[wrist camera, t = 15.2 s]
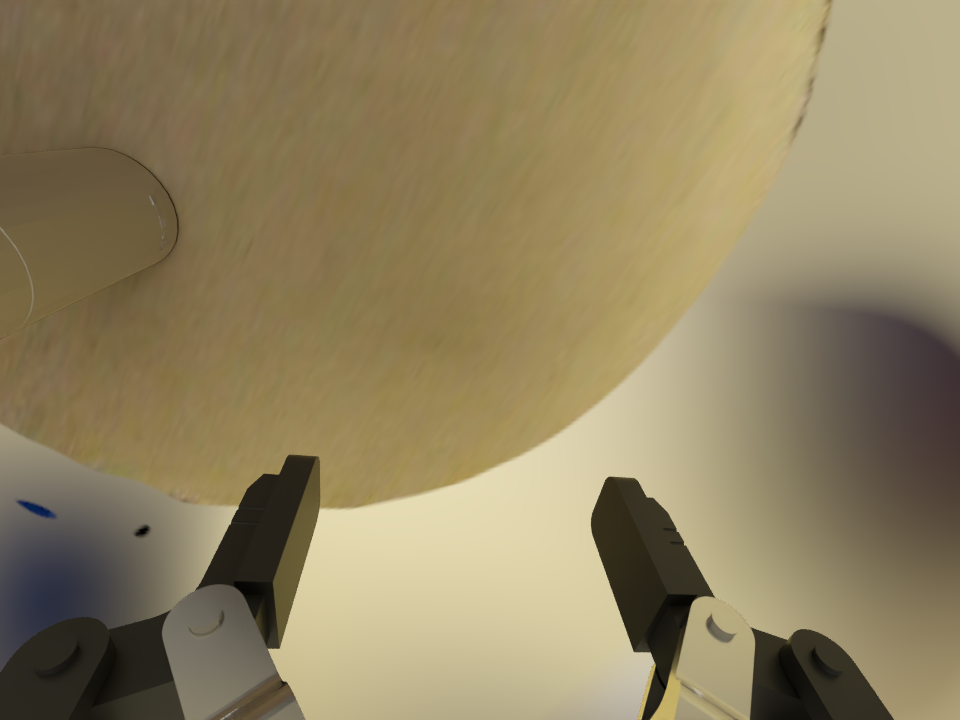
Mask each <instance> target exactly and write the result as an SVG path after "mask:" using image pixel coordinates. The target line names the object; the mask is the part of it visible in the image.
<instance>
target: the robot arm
mask: <svg viewBox="0 0 960 720" xmlns="http://www.w3.org/2000/svg"><path fill="white" fill-rule="evenodd" d="M177 232H178V229H177V218H176V214H175V210H174V207H173V205H172V202H171V200H170V198H169V196H168V194H167V193H166V191H165V190H164V188H163V187H162V186H161V184H160V183H159V182H158V180H157V179H156V178H155V177H154V176H153V175H152V174H151V173H150V172H149V171H148V170H146V169H145V168H144V167H143V166H141V165H140V164H139V163H137V162H136V161H134V160H132V159H131V158H129V157H127V156H125V155H123V154H121V153H118V152H115V151H112V150H109V149H104V148H97V147H91V148H78V149H67V150H55V151H42V152H31V153H20V154H10V155H0V339H2V338H4V337H6V336H8V335H10V334H12V333H14V332H15V331H17V330H20V329H22V328H24V327H26V326H28V325H30V324H32V323H34V322H36V321H38V320H40V319H42V318H44V317H46V316H48V315H50V314H52V313H54V312H56V311H59V310H61V309H63V308H65V307H67V306H69V305H71V304H73V303H75V302H77V301H79V300H81V299H83V298H85V297H87V296H89V295H91V294H93V293H95V292H98V291H100V290H102V289H104V288H106V287H108V286H110V285H112V284H114V283H116V282H118V281H120V280H122V279H124V278H127V277H129V276H131V275H133V274H135V273H137V272H139V271H141V270H143V269H145V268H147V267H149V266H151V265H153V264H155V263H157V262H159V261H160V260H162V259H164V258H165V257H166V256H167V255H168V254H169V253H170V252H171V250H172V248H173V246H174V244H175V242H176V237H177ZM319 507H320V461H319V457H317V456H301V455H288V457H287V458H286V460H285V463H284V465H283V467H282V470H281V472H280V474H279V475H274V474H263V475H262V476H261V477H260V478H259V479H258V480H256V481H255V482H254V483H253V484H252V485H251V486H250V487H249V488H248V489H247V491H246V493H245V495H244V497H243V499H242V501H241V503H240V505H239V509H238V510H237V511H236V513H235V515H234V517H233V519H232V522H231V525H229V527H228V529H227V531H226V533H225V535H224V537H223V539H222V541H221V543H220V545H219V547H218V549H217V551H216V553H215V555H214V557H213V559H212V561H211V563H210V565H209V567H208V569H207V571H206V573H205V575H204V577H203V579H202V581H201V583H200V584H199V586H198V587H197V588H196V590H195V591H194V592H192V593H190V594H188V595H187V596H185V597H184V598H183V599H182V600H181V601H179V602H178V603H177V604H176V605H175V606H174V607H173V609H172V610H170V611H168V612H166V613H164V614H161V615H159V616H156V617H154V618H151V619H147V620H143V621H139V622H135V623H132V624H128V625H125V626H120V627H117V628H113V629H109V630H108V629H107V627H106V626H105V625H104V624H103V623H102V622H101V621H99V620H97V619H94V618H89V617H80V618H73V619H68V620H65V621H62V622H59V623H56V624H54V625H52V626H50V627H48V628H46V629H44V630H42V631H41V632H39V633H38V634H36V635H35V636H33V637H32V638H31V639H29V640H28V641H27V642H26V643H24V644H23V645H22V646H21V647H20V648H19V649H18V650H17V651H16V653H14V655H13V656H12V657H11V659H10V660H9V661H8V663H7V664H6V666H5V667H4V668H3V670H2V671H1V672H0V720H305V718H304V716H303V713H302V711H301V709H300V707H299V705H298V702H297V700H296V698H295V696H294V694H293V692H292V690H291V688H290V686H289V685H288V683H287V682H283V681H282V679H281V678H280V676H279V674H278V672H277V669H276V667H275V665H274V663H273V660H272V658H271V656H270V654H269V651H268V649H270V648H272V649H274V648H275V649H279V648H280V645H281V642H282V639H283V635H284V632H285V628H286V624H287V621H288V617H289V614H290V611H291V608H292V604H293V601H294V598H295V594H296V591H297V587H298V584H299V580H300V577H301V573H302V570H303V567H304V563H305V560H306V557H307V553H308V550H309V546H310V543H311V540H312V536H313V533H314V529H315V526H316V522H317V518H318V513H319ZM591 529H592V535H593V538H594V541H595V543H596V546H597V549H598V552H599V555H600V558H601V560H602V563H603V566H604V569H605V571H606V575H607V577H608V580H609V583H610V586H611V589H612V591H613V594H614V597H615V600H616V603H617V606H618V608H619V611H620V614H621V617H622V620H623V622H624V625H625V628H626V631H627V634H628V636H629V639H630V642H631V645H632V648H633V651H634V652H651V654H652V657H653V659H654V662H655V663H654V664H653V666H652V668H651V671H650V674H649V678H648V682H647V685H646V689H645V693H644V696H643V700H642V703H641V707H640V711H639V715H638V718H637V720H894V719H893V717H892V716H891V715H890V713H889V712H888V710H887V709H886V707H885V706H884V704H883V703H882V702H881V700H880V699H879V697H878V696H877V694H876V693H875V691H874V690H873V689H872V687H871V686H870V684H869V683H868V681H867V680H866V679H865V677H864V676H863V674H862V673H861V671H860V670H859V668H858V667H857V666H856V664H855V663H854V661H853V660H852V659H851V658H850V656H849V655H848V654H847V653H846V652H845V651H844V650H843V649H842V648H841V647H840V646H839V645H837V644H836V643H835V642H833V641H832V640H831V639H829V638H828V637H826V636H824V635H822V634H820V633H818V632H815V631H812V630H807V629H801V630H797V631H796V632H794V633H793V635H792V636H791V637H790V638H789V639H788V640H786V639H783V638H780V637H777V636H774V635H771V634H768V633H765V632H762V631H759V630H756V629H754V628H751V627H750V626H749V624H748V623H747V622H746V620H745V619H744V618H743V617H742V615H741V614H740V613H739V612H738V611H737V610H735V609H734V608H733V607H732V606H730V605H729V604H727V603H725V602H723V601H722V600H719V599H716V598H715V597H714V595H713V593H712V591H711V590H710V588H709V586H708V584H707V582H706V581H705V579H704V577H703V575H702V573H701V572H700V570H699V568H698V566H697V564H696V563H695V561H694V559H693V557H692V556H691V554H690V552H689V550H688V548H687V547H686V546H684V541H683V539H682V538H681V536H680V534H679V532H677V531H676V527H675V525H674V523H673V522H672V520H671V518H670V516H669V514H668V513H667V511H665V509H664V508H663V507H662V506H661V505H659V503H658V502H657V501H656V500H655V499H654V498H647V497H646V495H645V494H644V491H643V490H642V488H641V486H640V484H639V482H638V481H637V480H636V479H635V478H623V477H608V478H607V479H606V480H605V483H604V485H603V487H602V490H601V493H600V495H599V498H598V500H597V503H596V505H595V508H594V510H593V513H592V518H591Z"/></svg>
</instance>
